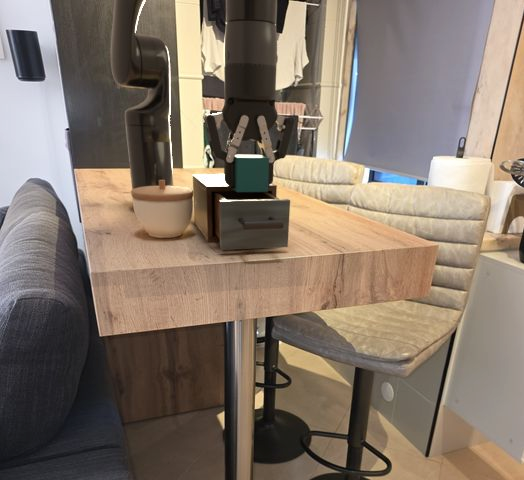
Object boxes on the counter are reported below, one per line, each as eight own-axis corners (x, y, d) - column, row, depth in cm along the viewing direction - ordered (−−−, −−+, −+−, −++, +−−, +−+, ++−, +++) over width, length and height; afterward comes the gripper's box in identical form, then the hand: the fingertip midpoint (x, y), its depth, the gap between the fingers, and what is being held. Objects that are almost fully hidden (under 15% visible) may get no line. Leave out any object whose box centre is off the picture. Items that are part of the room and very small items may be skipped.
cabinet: (274, 239, 83) (276, 185, 78) (207, 241, 79) (206, 186, 75) (252, 220, 96) (253, 174, 92) (194, 222, 93) (192, 174, 89)
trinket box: (132, 229, 86) (126, 176, 82) (187, 226, 90) (185, 175, 85) (139, 243, 77) (134, 185, 73) (200, 239, 81) (199, 183, 77)
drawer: (298, 255, 70) (301, 205, 67) (227, 258, 67) (227, 207, 64) (263, 227, 87) (264, 186, 83) (205, 229, 84) (204, 187, 80)
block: (230, 187, 75) (230, 154, 72) (259, 187, 76) (260, 154, 74) (237, 192, 70) (237, 157, 68) (267, 192, 72) (269, 157, 69)
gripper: (289, 67, 70) (283, 183, 78) (196, 62, 66) (200, 184, 74) (306, 64, 64) (298, 190, 72) (205, 57, 60) (208, 191, 68)
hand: (248, 186), depth 73 cm, fingers closed on block, 5 cm apart
